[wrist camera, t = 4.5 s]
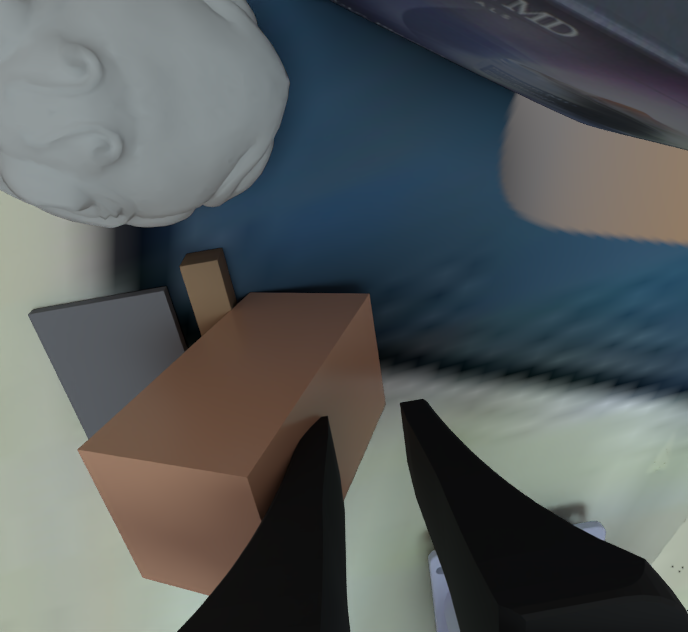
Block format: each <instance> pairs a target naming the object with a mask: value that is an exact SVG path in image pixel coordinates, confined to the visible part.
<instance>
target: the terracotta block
mask: <svg viewBox="0 0 688 632" xmlns="http://www.w3.org/2000/svg"><path fill="white" fill-rule="evenodd" d="M385 405H386V403H385V396H384V389H383V383H382V376H381V369H380V362H379V355H378V349H377V342H376V335H375V328H374V321H373V314H372V308H371V301H370V294H357V293H256V292H250V293H249V294H248V295H247V296H246V297H245V298H244V299H242V300H241V301H240V302H239V303H238V304H237V305H236V306H235V307H234V308H233V309H232V310H230V311H229V312H228V313H227V314H226V315H225V316H224V317H223V318H222V319H221V320H219V321H218V322H217V323H216V324H215V325H214V326H213V327H212V328H211V329H210V330H208V331H207V332H206V333H205V334H204V335H203V336H202V337H201V338H200V339H199V340H197V341H196V342H195V343H194V344H193V345H192V346H191V347H190V348H189V349H188V350H186V351H185V352H184V353H183V354H182V355H181V356H180V357H179V358H178V359H177V360H175V361H174V362H173V363H172V364H171V365H170V366H169V367H168V368H167V369H166V370H164V371H163V372H162V373H161V374H160V375H159V376H158V377H157V378H156V379H155V380H153V381H152V382H151V383H150V384H149V385H148V386H147V387H146V388H145V389H144V390H142V391H141V392H140V393H139V394H138V395H137V396H136V397H135V398H134V399H133V400H131V401H130V402H129V403H128V404H127V405H126V406H125V407H124V408H123V409H122V410H121V411H119V412H118V413H117V414H116V415H115V416H114V417H113V418H112V419H111V420H110V421H108V422H107V423H106V424H105V425H104V426H103V427H102V428H101V429H100V430H99V431H97V432H96V433H95V434H94V435H93V436H92V437H91V438H90V439H89V440H88V441H86V442H85V443H84V444H83V445H82V446H81V447H80V448H79V449H78V452H79V454H80V456H81V458H82V460H83V462H84V463H85V465H86V467H87V469H88V471H89V473H90V475H91V477H92V479H93V481H94V483H95V485H96V487H97V489H98V491H99V493H100V495H101V497H102V499H103V501H104V503H105V505H106V507H107V509H108V511H109V513H110V514H111V516H112V518H113V520H114V522H115V524H116V526H117V528H118V530H119V532H120V534H121V536H122V538H123V540H124V542H125V544H126V546H127V548H128V550H129V552H130V554H131V556H132V558H133V560H134V562H135V564H136V565H137V567H138V569H139V571H140V573H141V575H142V577H143V578H146V579H150V580H154V581H157V582H161V583H165V584H168V585H172V586H176V587H179V588H183V589H187V590H191V591H194V592H198V593H202V594H205V595H209V596H210V594H211V593H212V592H213V591H214V589H215V588H216V587H217V586H218V584H219V583H220V582H221V581H222V579H223V578H224V577H225V576H226V574H227V573H228V572H229V570H230V569H231V568H232V566H233V565H234V563H235V562H236V561H237V559H238V558H239V556H240V555H241V553H242V552H243V550H244V549H245V547H246V546H247V544H248V543H249V541H250V540H251V538H252V537H253V535H254V533H255V532H256V530H257V528H258V527H259V525H260V523H261V521H262V520H263V518H264V516H265V514H266V512H267V510H268V509H269V507H270V505H271V503H272V501H273V499H274V496H275V494H276V492H277V490H278V488H279V486H280V484H281V482H282V480H283V477H284V475H285V472H286V470H287V467H288V465H289V462H290V460H291V457H292V455H293V452H294V450H295V448H296V446H297V444H298V443H299V441H300V439H301V438H302V437H303V435H304V434H305V433H306V432H307V431H308V430H309V428H310V427H311V426H312V425H313V424H314V423H315V422H316V421H317V420H318V419H319V418H320V417H323V416H328V419H329V424H330V428H331V433H332V438H333V443H334V448H335V452H336V457H337V462H338V467H339V472H340V478H341V485H342V493H343V501H344V499H345V497H346V494H347V492H348V490H349V487H350V485H351V483H352V481H353V478H354V476H355V474H356V471H357V469H358V467H359V464H360V462H361V460H362V458H363V455H364V453H365V451H366V448H367V446H368V444H369V441H370V439H371V437H372V435H373V432H374V430H375V428H376V425H377V423H378V421H379V419H380V416H381V414H382V412H383V409H384V407H385Z"/></svg>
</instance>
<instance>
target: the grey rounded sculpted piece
mask: <svg viewBox="0 0 688 632" xmlns="http://www.w3.org/2000/svg"><path fill="white" fill-rule="evenodd" d="M289 85H290V81H289V78H288V75H287V72H286V70H285V68H284V66H283V64H282V62H281V60H280V58H279V56H278V55H277V53H276V51H275V49H274V47H273V45H272V44H271V43H270V41H269V40H268V39H267V38H266V36H265V35H264V34H263V32H262V31H261V30H260V28H259V27H258V26H257V20H256V18H255V15H254V13H253V11H252V9H251V8H250V6H249V5H248V3H247V2H246V0H0V190H1V191H3V192H5V193H7V194H9V195H11V196H13V197H15V198H17V199H19V200H22V201H24V202H26V203H28V204H31V205H34V206H36V207H38V208H40V209H41V210H43V211H45V212H48V213H50V214H52V215H55V216H57V217H60V218H64V219H67V220H70V221H74V222H79V223H84V224H89V225H94V226H101V227H107V228H114V227H117V226H120V225H123V224H128V225H133V226H137V227H156V226H166V225H171V224H174V223H177V222H179V221H182V220H184V219H186V218H188V217H189V216H190V215H191V214H192V213H193V212H194V210H195V209H196V208H198V207H200V206H201V205H205V206H208V207H216V206H220V205H221V204H223V203H224V202H226V201H227V200H229V199H231V198H233V197H234V196H236V195H238V194H240V193H242V192H244V191H245V190H246V189H248V188H249V187H250V186H251V185H252V184H253V183H254V182H255V181H256V179H257V178H258V177H259V176H260V175H261V174H262V172H263V170H264V168H265V166H266V164H267V162H268V160H269V157H270V154H271V152H272V149H273V143H274V137H275V135H276V133H277V131H278V129H279V127H280V124H281V120H282V117H283V113H284V110H285V106H286V103H287V99H288V93H289Z"/></svg>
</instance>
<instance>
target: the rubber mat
mask: <svg viewBox="0 0 688 632" xmlns="http://www.w3.org/2000/svg"><path fill="white" fill-rule="evenodd" d="M28 316H29V318H30V320H31V322H32V324H33V326H34V328H35V330H36V332H37V334H38V337H39V339H40V341H41V343H42V345H43V347H44V349H45V351H46V353H47V355H48V357H49V359H50V361H51V363H52V365H53V367H54V369H55V371H56V373H57V376H58V378H59V380H60V382H61V384H62V386H63V388H64V390H65V392H66V394H67V396H68V398H69V400H70V402H71V404H72V406H73V408H74V410H75V412H76V415H77V417H78V419H79V421H80V423H81V425H82V427H83V429H84V431H85V433H86V435H87V437H88V439H90V438H91V437H92V436H93V435H94V434H95V433H96V432H97V431H99V430H100V429H101V428H102V427H103V426H104V425H105V424H106V423H107V422H108V421H110V420H111V419H112V418H113V417H114V416H115V415H116V414H117V413H118V412H119V411H121V410H122V409H123V408H124V407H125V406H126V405H127V404H128V403H129V402H130V401H131V400H133V399H134V398H135V397H136V396H137V395H138V394H139V393H140V392H141V391H142V390H144V389H145V388H146V387H147V386H148V385H149V384H150V383H151V382H152V381H153V380H155V379H156V378H157V377H158V376H159V375H160V374H161V373H162V372H163V371H164V370H166V369H167V368H168V367H169V366H170V365H171V364H172V363H173V362H174V361H175V360H177V359H178V358H179V357H180V356H181V355H182V354H183V353H184V352H185V351H186V350H188V349H187V346H186V343H185V340H184V337H183V334H182V331H181V328H180V325H179V322H178V319H177V316H176V313H175V311H174V308H173V305H172V302H171V299H170V296H169V293H168V290H167V287H166V286H164V287H159V288H153V289H147V290H142V291H136V292H130V293H124V294H119V295H113V296H107V297H102V298H96V299H90V300H85V301H79V302H73V303H67V304H62V305H56V306H50V307H45V308H39V309H33V310H32V311H31V312H30V313H29V314H28Z"/></svg>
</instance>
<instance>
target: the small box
mask: <svg viewBox="0 0 688 632" xmlns="http://www.w3.org/2000/svg"><path fill="white" fill-rule="evenodd" d="M330 1H332V2H334V3H336V4H338V5H340V6H342V7H344V8H346V9H348V10H350V11H352V12H354V13H356V14H358V15H360V16H362V17H364V18H366V19H368V20H370V21H372V22H374V23H376V24H378V25H380V26H382V27H384V28H386V29H388V30H390V31H392V32H394V33H396V34H398V35H400V36H402V37H404V38H406V39H408V40H410V41H412V42H414V43H416V44H418V45H420V46H422V47H424V48H426V49H428V50H430V51H432V52H434V53H436V54H438V55H440V56H442V57H444V58H446V59H448V60H450V61H452V62H454V63H456V64H458V65H460V66H462V67H464V68H466V69H468V70H470V71H472V72H474V73H476V74H478V75H480V76H482V77H485V78H487V79H489V80H491V81H493V82H495V83H497V84H499V85H501V86H503V87H505V88H507V89H509V90H511V91H514V92H516V93H518V94H520V95H522V96H524V97H526V98H528V99H530V100H532V101H534V102H536V103H539V104H541V105H543V106H545V107H547V108H549V109H551V110H554V111H556V112H558V113H560V114H562V115H565V116H567V117H569V118H571V119H574V120H576V121H578V122H580V123H583V124H586V125H589V126H592V127H596V128H599V129H604V130H607V131H611V132H615V133H619V134H623V135H627V136H631V137H636V138H639V139H644V140H648V141H652V142H656V143H660V144H664V145H668V146H673V147H676V148H680V149H684V150H688V0H330Z"/></svg>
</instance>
